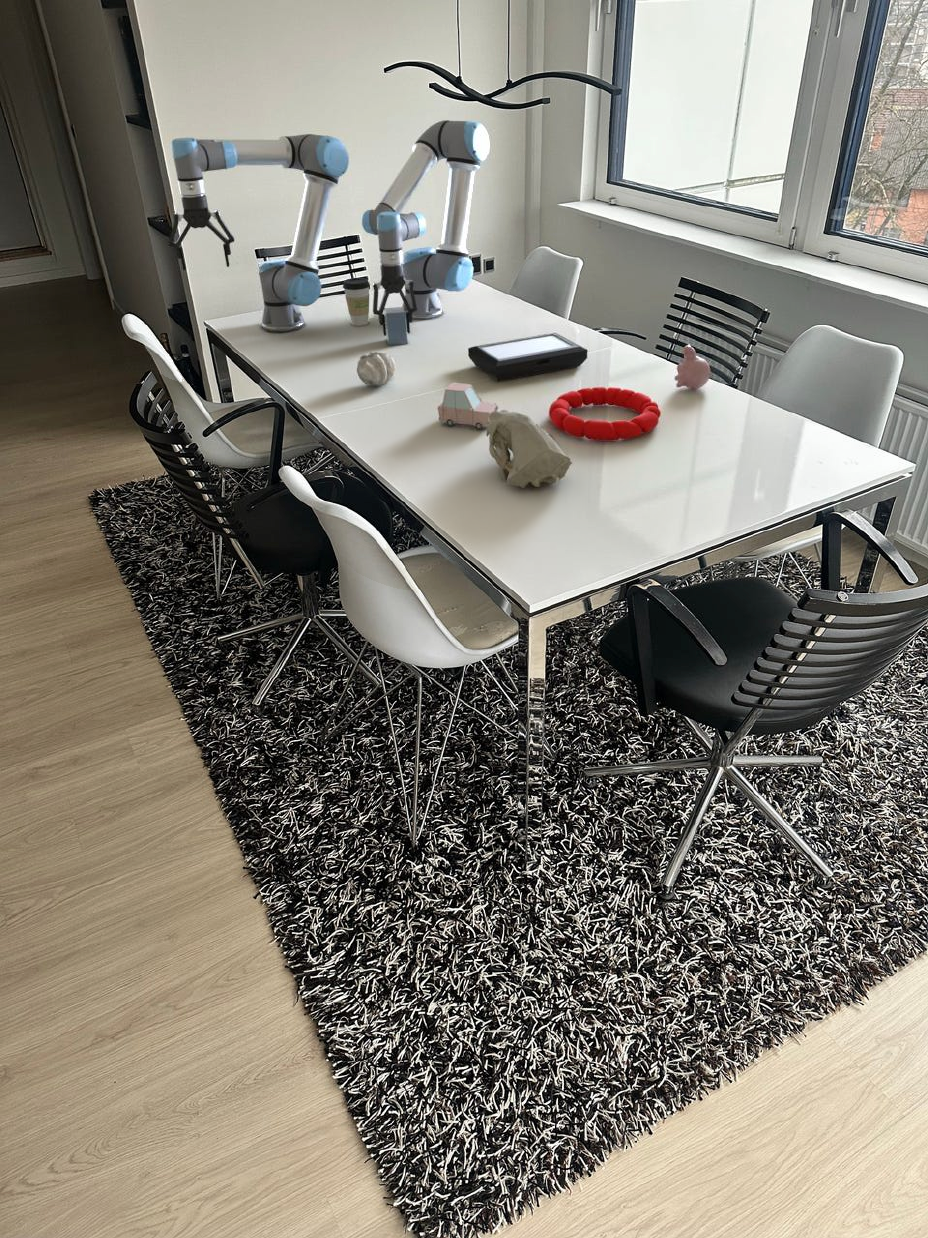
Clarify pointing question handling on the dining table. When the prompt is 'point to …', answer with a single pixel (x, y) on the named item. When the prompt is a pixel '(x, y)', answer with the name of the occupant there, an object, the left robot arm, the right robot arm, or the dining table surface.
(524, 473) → the animal skull
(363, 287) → the coffee cup
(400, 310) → the block
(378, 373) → the seashell
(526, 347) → the electronic device
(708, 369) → the figurine
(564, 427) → the decorative ring
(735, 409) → the dining table surface
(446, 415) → the toy car
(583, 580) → the dining table surface
